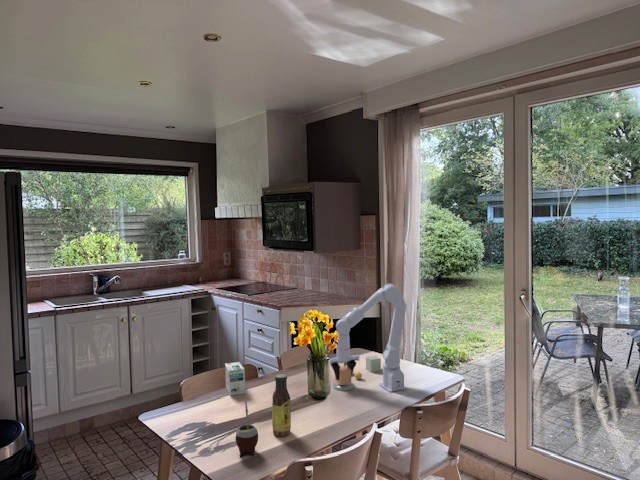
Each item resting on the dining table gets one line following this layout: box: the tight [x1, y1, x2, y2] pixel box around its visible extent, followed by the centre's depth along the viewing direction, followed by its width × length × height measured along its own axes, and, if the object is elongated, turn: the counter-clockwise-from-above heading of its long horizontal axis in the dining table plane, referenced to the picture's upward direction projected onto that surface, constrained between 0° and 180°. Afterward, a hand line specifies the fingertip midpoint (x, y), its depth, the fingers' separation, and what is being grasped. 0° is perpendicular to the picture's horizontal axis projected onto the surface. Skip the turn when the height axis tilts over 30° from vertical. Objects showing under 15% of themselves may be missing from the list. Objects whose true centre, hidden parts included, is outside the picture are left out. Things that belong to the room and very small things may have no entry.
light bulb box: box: [224, 361, 246, 396], centre depth 199 cm, size 11×7×11 cm, turn 22°
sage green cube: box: [365, 355, 382, 373], centre depth 222 cm, size 5×5×6 cm
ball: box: [354, 371, 363, 380], centre depth 210 cm, size 3×3×3 cm
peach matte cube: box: [334, 365, 352, 385], centre depth 201 cm, size 5×5×6 cm
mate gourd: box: [235, 399, 259, 458], centre depth 147 cm, size 8×8×15 cm
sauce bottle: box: [271, 373, 292, 437], centre depth 159 cm, size 6×6×20 cm
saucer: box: [332, 381, 355, 392], centre depth 201 cm, size 9×9×1 cm
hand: (343, 378), depth 201 cm, fingers closed on peach matte cube, 5 cm apart
